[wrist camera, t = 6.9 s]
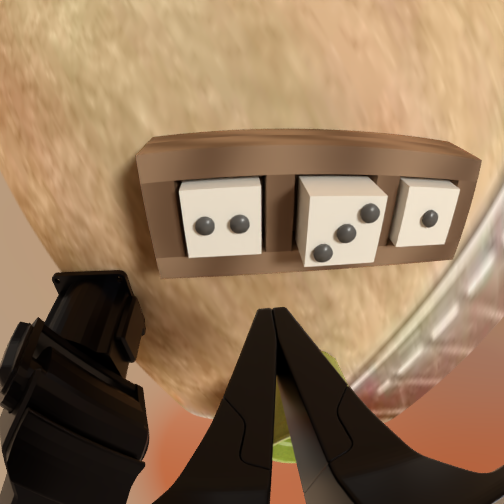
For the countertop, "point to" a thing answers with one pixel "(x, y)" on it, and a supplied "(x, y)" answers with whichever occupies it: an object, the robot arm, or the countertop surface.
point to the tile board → (292, 190)
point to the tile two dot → (222, 215)
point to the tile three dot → (338, 219)
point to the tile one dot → (422, 211)
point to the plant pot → (281, 432)
